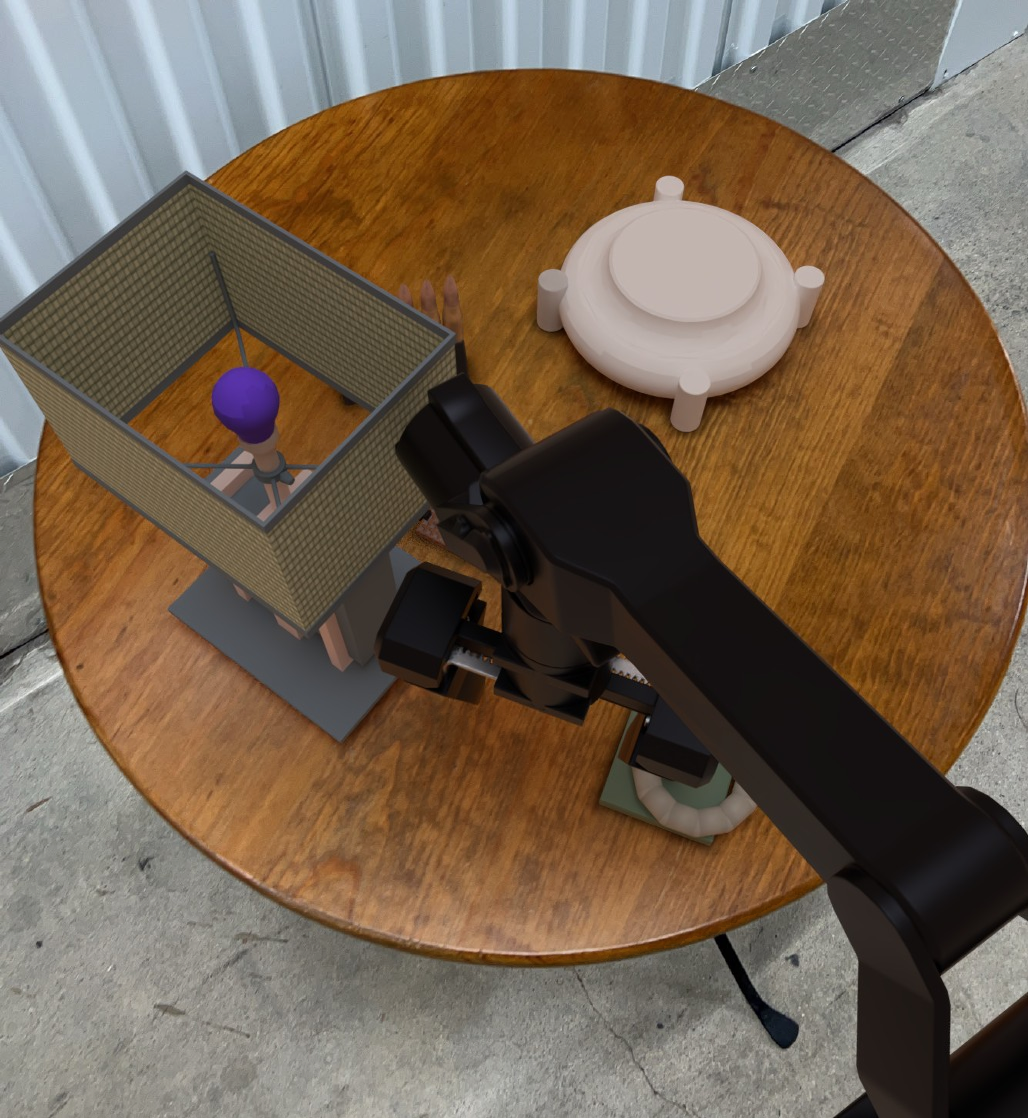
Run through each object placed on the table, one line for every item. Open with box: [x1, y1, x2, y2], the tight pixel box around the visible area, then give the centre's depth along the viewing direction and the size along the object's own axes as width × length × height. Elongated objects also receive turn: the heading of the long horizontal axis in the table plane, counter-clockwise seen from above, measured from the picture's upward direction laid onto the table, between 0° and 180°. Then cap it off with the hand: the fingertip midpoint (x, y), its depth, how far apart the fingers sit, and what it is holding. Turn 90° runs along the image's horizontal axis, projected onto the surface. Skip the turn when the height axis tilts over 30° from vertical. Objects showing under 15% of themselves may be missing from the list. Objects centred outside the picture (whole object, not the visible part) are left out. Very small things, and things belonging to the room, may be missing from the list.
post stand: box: [598, 710, 733, 847], centre depth 72 cm, size 8×8×9 cm
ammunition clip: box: [342, 274, 470, 406], centre depth 86 cm, size 11×2×12 cm, turn 104°
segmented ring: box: [632, 767, 758, 837], centre depth 74 cm, size 9×9×2 cm
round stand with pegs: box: [536, 175, 826, 433], centre depth 92 cm, size 24×24×7 cm
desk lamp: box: [0, 169, 457, 745], centre depth 67 cm, size 18×14×33 cm
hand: (550, 723), depth 64 cm, fingers open, 9 cm apart
